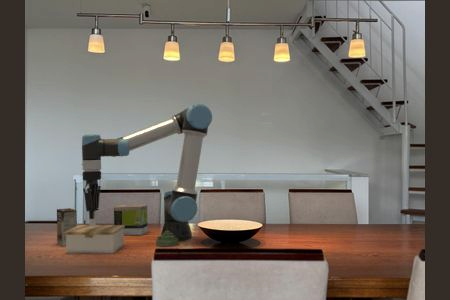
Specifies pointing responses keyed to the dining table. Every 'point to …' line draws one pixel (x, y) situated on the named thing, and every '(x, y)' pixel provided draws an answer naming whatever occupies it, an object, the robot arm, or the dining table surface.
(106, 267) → the dining table surface
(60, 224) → the coffee box
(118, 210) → the tea box
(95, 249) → the chest
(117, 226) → the lid
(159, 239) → the decorative artifact
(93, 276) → the dining table surface
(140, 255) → the dining table surface
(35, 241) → the dining table surface
